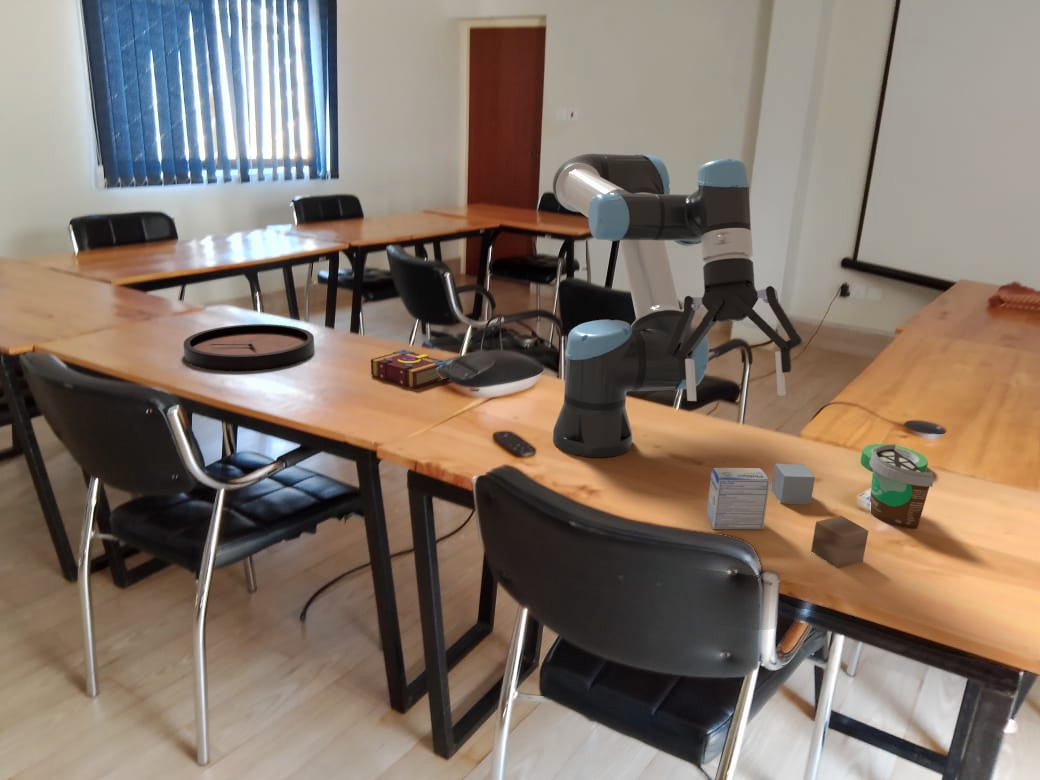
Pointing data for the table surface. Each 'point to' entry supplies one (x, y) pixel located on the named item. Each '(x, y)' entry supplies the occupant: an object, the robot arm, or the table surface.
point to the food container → (897, 488)
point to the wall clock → (249, 347)
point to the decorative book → (407, 368)
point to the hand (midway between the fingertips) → (735, 398)
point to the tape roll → (905, 452)
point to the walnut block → (839, 541)
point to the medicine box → (737, 498)
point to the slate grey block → (792, 483)
